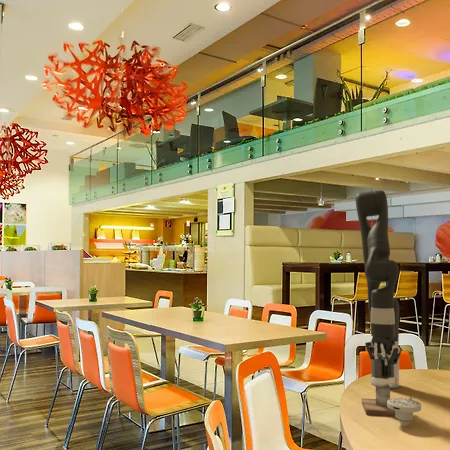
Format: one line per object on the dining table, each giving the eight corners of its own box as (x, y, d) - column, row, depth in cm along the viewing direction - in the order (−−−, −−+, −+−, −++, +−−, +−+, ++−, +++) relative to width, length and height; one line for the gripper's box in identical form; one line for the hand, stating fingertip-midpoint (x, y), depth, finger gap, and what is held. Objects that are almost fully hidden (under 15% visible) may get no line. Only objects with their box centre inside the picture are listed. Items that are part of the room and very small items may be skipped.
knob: (366, 382, 165) (366, 357, 165) (389, 381, 167) (389, 356, 167) (378, 388, 158) (378, 361, 158) (402, 386, 160) (402, 360, 160)
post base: (361, 402, 169) (361, 380, 169) (398, 404, 167) (398, 381, 167) (366, 414, 156) (366, 390, 156) (406, 416, 154) (406, 391, 155)
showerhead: (427, 399, 148) (412, 406, 141) (428, 424, 147) (412, 432, 140) (397, 392, 154) (381, 399, 147) (397, 417, 154) (381, 424, 147)
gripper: (358, 320, 167) (359, 373, 166) (391, 325, 155) (392, 382, 154) (374, 318, 171) (375, 370, 170) (408, 323, 159) (409, 379, 158)
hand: (383, 375), depth 162 cm, fingers closed on knob, 2 cm apart
